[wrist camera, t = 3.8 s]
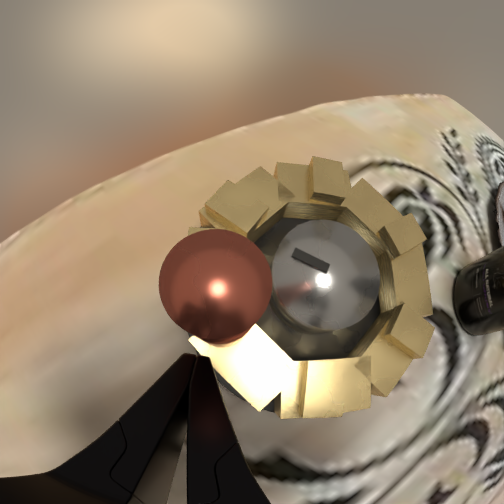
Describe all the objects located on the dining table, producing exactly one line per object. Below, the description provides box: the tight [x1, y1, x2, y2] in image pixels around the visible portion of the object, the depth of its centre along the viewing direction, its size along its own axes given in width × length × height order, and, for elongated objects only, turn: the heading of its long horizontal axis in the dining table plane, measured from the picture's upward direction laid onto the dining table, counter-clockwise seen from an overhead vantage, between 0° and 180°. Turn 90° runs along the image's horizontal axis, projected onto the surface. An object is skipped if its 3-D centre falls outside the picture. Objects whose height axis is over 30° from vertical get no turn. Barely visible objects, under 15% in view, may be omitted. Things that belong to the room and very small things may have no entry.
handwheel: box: [159, 156, 435, 419], centre depth 12 cm, size 15×15×10 cm
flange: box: [188, 218, 380, 412], centre depth 16 cm, size 16×16×5 cm
